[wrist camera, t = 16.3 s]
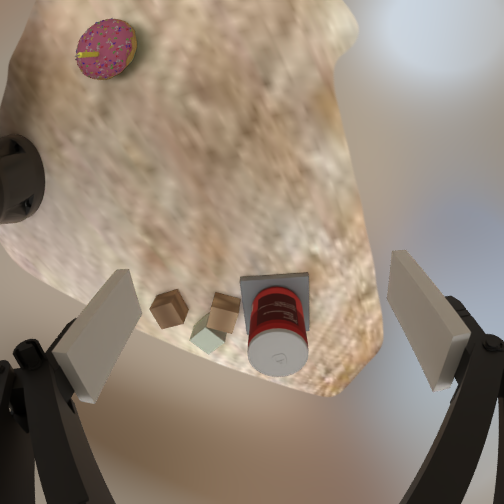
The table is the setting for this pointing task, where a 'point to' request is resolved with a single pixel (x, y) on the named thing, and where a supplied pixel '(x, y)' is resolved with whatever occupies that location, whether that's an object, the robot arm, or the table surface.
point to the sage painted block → (207, 336)
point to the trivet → (290, 281)
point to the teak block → (223, 313)
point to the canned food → (277, 333)
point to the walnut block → (169, 309)
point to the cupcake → (106, 49)
